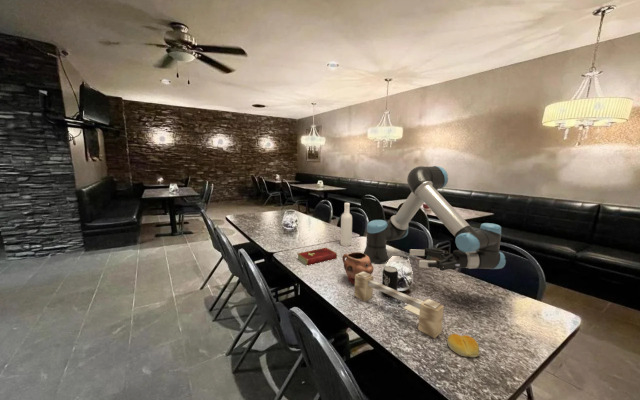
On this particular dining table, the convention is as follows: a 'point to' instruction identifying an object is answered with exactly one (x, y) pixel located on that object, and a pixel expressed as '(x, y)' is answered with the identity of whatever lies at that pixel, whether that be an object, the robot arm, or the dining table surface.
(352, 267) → the brown sculpted mug
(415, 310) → the pad
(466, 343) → the bread roll
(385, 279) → the beverage can
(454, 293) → the dining table surface
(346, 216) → the bottle
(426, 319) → the handrail
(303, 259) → the hardcover book
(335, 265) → the dining table surface
